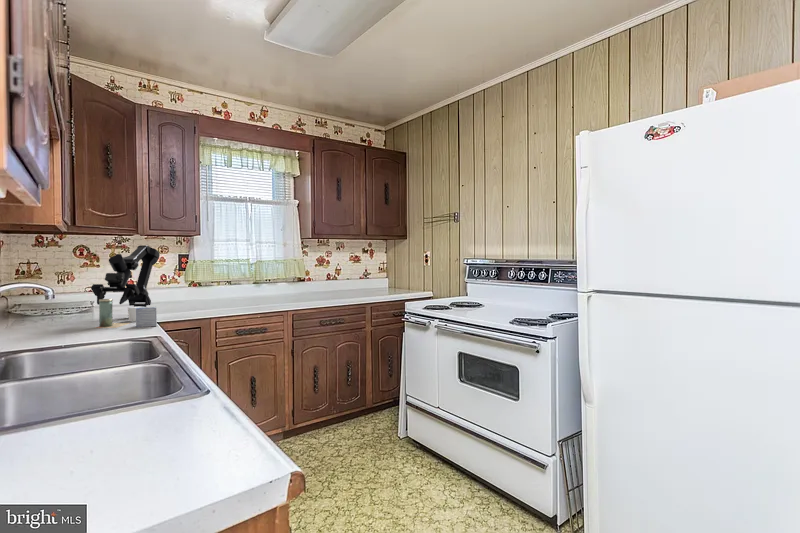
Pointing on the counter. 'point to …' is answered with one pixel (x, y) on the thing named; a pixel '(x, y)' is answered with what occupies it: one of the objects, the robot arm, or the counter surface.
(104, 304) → the tea tin
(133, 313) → the shot glass
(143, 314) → the medicine box
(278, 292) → the counter surface
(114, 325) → the kraft envelope
